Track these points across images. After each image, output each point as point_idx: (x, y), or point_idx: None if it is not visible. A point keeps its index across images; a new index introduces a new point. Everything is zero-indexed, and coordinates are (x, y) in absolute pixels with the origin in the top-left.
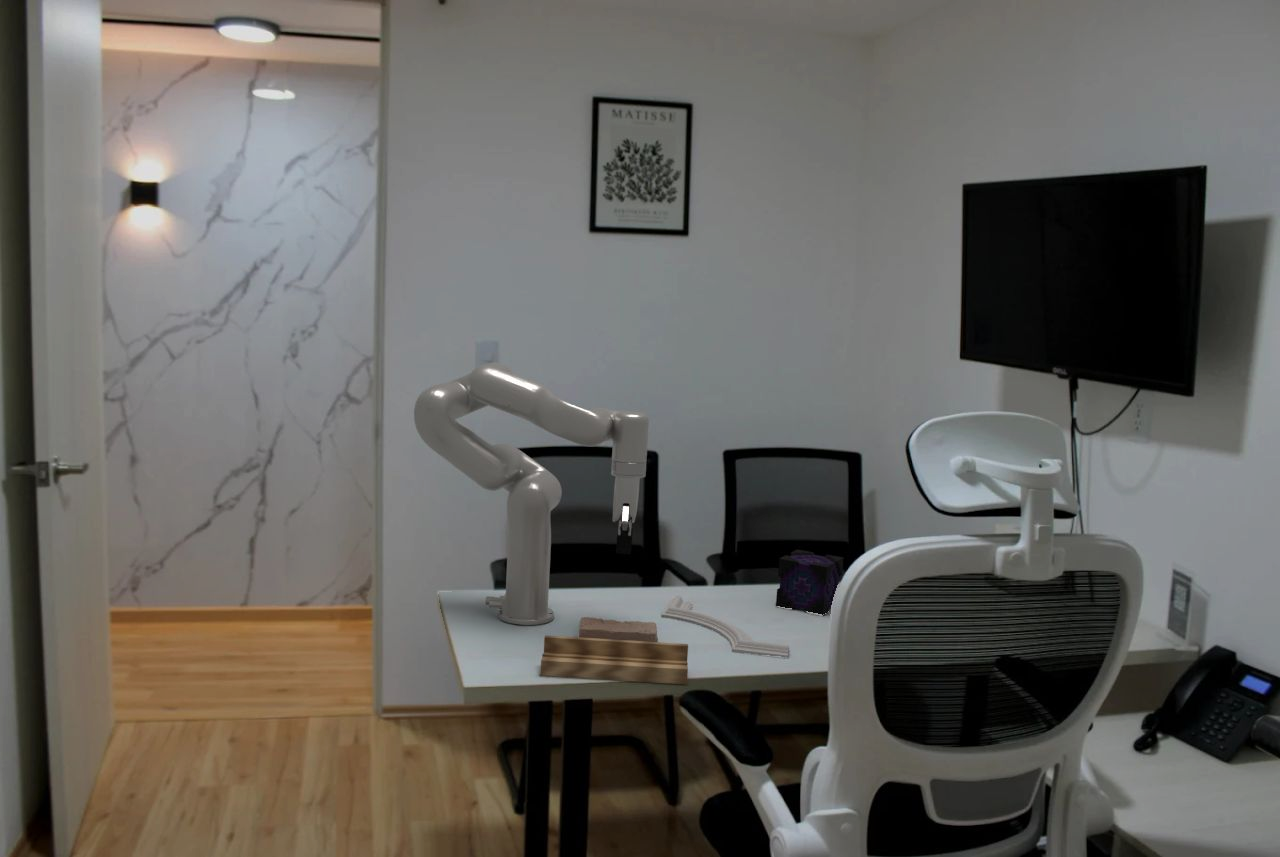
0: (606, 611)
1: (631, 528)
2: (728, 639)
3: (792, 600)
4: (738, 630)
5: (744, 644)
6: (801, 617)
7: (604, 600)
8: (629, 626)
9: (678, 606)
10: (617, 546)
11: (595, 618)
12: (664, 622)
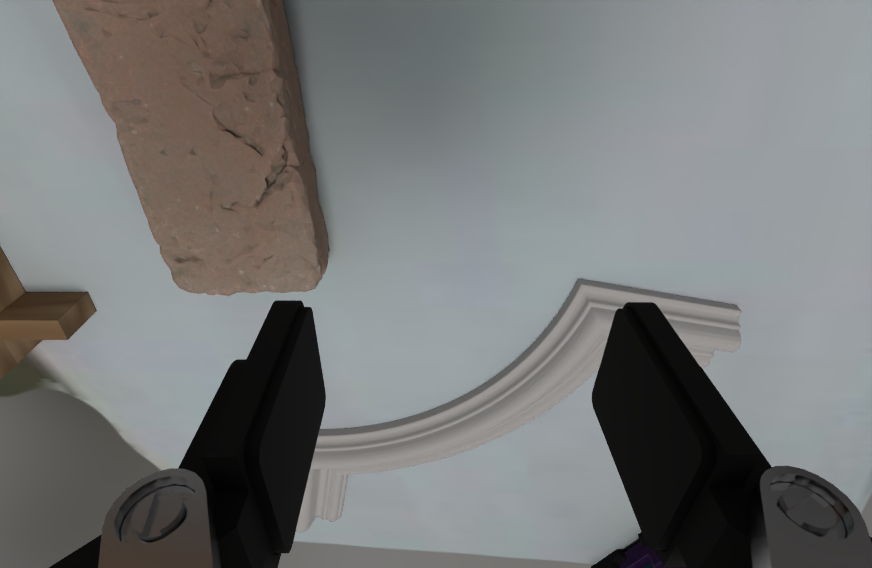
0: (661, 71)
1: (667, 559)
2: (370, 429)
3: (652, 556)
4: (437, 453)
5: None
6: (582, 542)
7: (837, 56)
8: (222, 200)
9: None
10: (258, 350)
11: (260, 35)
12: (520, 287)
